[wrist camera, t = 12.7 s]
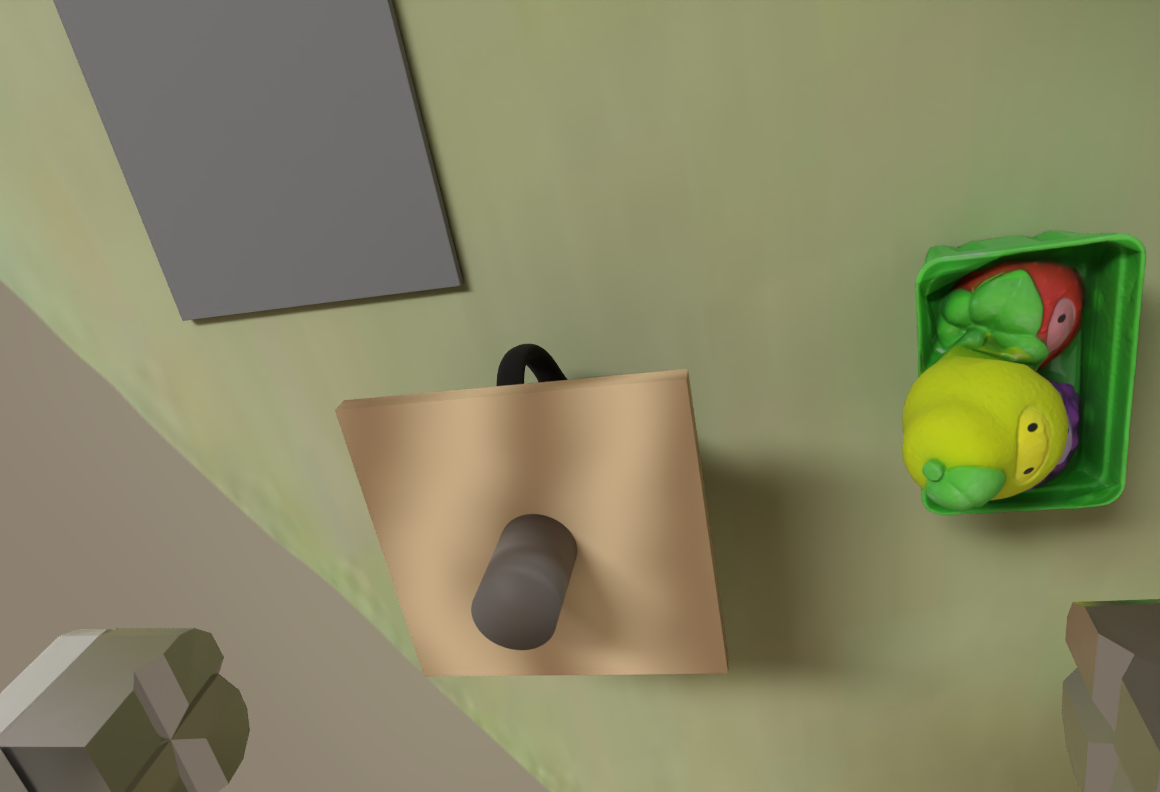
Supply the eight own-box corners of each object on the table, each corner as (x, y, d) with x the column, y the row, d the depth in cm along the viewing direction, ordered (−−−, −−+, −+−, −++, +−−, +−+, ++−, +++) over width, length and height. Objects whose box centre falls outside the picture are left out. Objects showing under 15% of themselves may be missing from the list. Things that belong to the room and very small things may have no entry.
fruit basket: (1083, 443, 39) (1196, 610, 29) (877, 459, 41) (917, 619, 31) (1097, 194, 34) (1238, 292, 24) (863, 226, 36) (905, 329, 27)
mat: (373, -75, 34) (368, -76, 34) (463, 282, 41) (460, 285, 40) (61, -1, 38) (52, 0, 38) (188, 317, 44) (182, 320, 44)
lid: (687, 368, 30) (677, 437, 25) (728, 659, 35) (725, 755, 31) (343, 400, 33) (283, 466, 28) (430, 663, 38) (390, 751, 34)
